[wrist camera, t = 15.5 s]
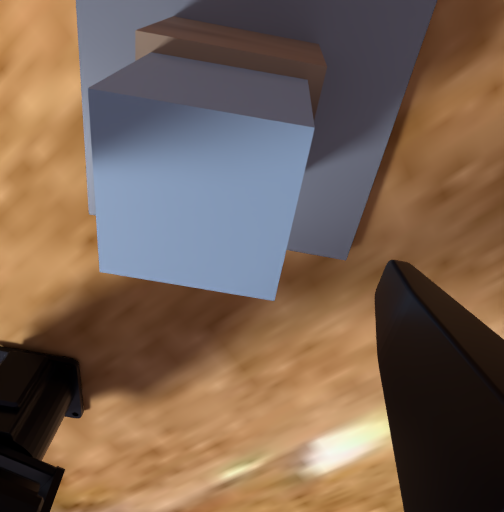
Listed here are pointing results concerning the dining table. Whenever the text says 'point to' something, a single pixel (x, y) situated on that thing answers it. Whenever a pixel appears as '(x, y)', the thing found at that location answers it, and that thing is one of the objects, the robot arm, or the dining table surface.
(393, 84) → the build plate
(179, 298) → the dining table surface
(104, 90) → the blue brick
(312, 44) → the walnut brick
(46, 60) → the dining table surface
